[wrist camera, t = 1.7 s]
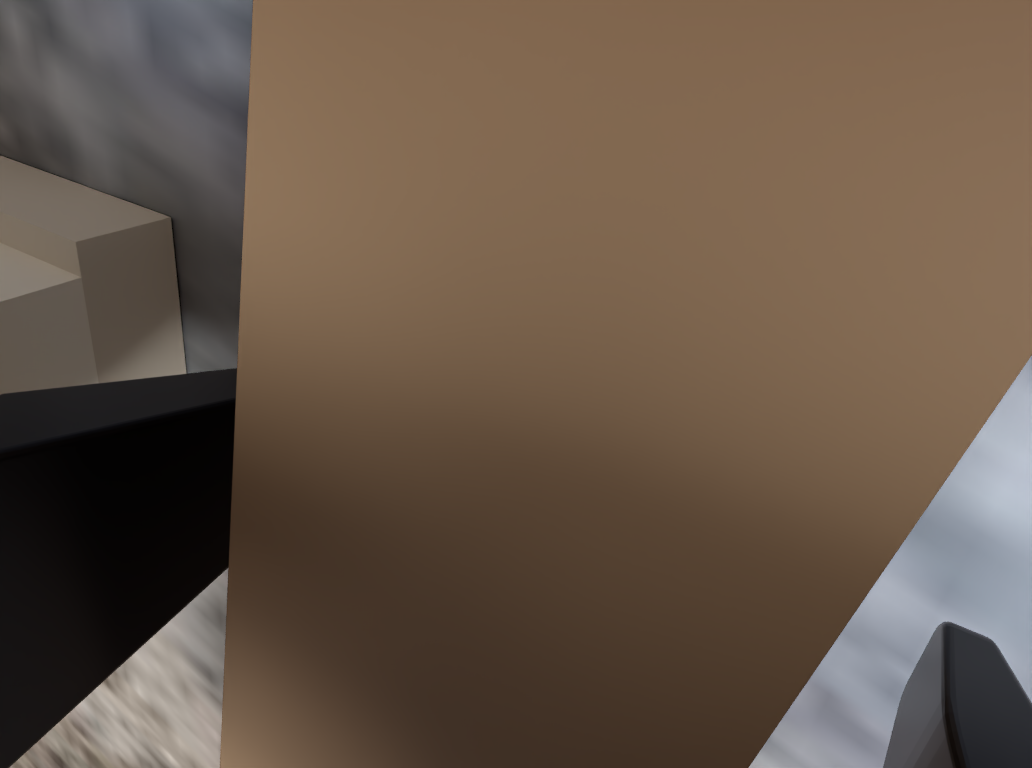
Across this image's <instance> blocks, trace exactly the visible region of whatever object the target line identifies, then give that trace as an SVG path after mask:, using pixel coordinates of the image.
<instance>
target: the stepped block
mask: <svg viewBox="0 0 1032 768" xmlns="http://www.w3.org/2000/svg"><path fill="white" fill-rule="evenodd" d="M179 374H187V373H186V363H185V353H184V343H183V333H182V323H181V313H180V303H179V293H178V283H177V274H176V264H175V254H174V244H173V234H172V224H171V217H169V216H166V215H163V214H161V213H158V212H155V211H152V210H150V209H147V208H144V207H141V206H138V205H136V204H133V203H130V202H127V201H125V200H122V199H119V198H116V197H114V196H111V195H108V194H105V193H103V192H100V191H97V190H94V189H92V188H89V187H86V186H83V185H81V184H78V183H75V182H72V181H69V180H67V179H64V178H61V177H58V176H56V175H53V174H50V173H47V172H45V171H42V170H39V169H36V168H34V167H31V166H28V165H25V164H23V163H20V162H17V161H14V160H11V159H9V158H6V157H3V156H0V395H1V394H4V393H13V392H23V391H32V390H41V389H50V388H59V387H69V386H78V385H87V384H96V383H106V382H115V381H124V380H133V379H142V378H152V377H161V376H170V375H179Z"/></svg>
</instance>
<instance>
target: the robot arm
mask: <svg viewBox="0 0 1032 768" xmlns="http://www.w3.org/2000/svg"><path fill="white" fill-rule="evenodd" d="M236 385H237V368H235V369H226V370H216V371H207V372H198V373H189V374H179V375H170V376H161V377H152V378H142V379H133V380H124V381H115V382H106V383H96V384H87V385H78V386H69V387H59V388H50V389H41V390H32V391H23V392H13V393H4V394H1V395H0V768H9V767H10V766H11V765H12V764H14V763H15V762H16V761H17V760H18V759H19V758H20V757H21V756H22V755H23V754H24V753H26V752H27V751H28V750H29V749H30V748H31V747H32V746H33V745H34V744H35V743H37V742H38V741H39V740H40V739H41V738H42V737H43V736H44V735H45V734H46V733H47V732H49V731H50V730H51V729H52V728H53V727H54V726H55V725H56V724H57V723H58V722H60V721H61V720H62V719H63V718H64V717H65V716H66V715H67V714H68V713H69V712H70V711H72V710H73V709H74V708H75V707H76V706H77V705H78V704H79V703H80V702H81V701H83V700H84V699H85V698H86V697H87V696H88V695H89V694H90V693H91V692H92V691H93V690H95V689H96V688H97V687H98V686H99V685H100V684H101V683H102V682H103V681H104V680H106V679H107V678H108V677H109V676H110V675H111V674H112V673H113V672H114V671H115V670H116V669H118V668H119V667H120V666H121V665H122V664H123V663H124V662H125V661H126V660H127V659H129V658H130V657H131V656H132V655H133V654H134V653H135V652H136V651H137V650H138V649H139V648H141V647H142V646H143V645H144V644H145V643H146V642H147V641H148V640H149V639H150V638H152V637H153V636H154V635H155V634H156V633H157V632H158V631H159V630H160V629H161V628H162V627H164V626H165V625H166V624H167V623H168V622H169V621H170V620H171V619H172V618H173V617H175V616H176V615H177V614H178V613H179V612H180V611H181V610H182V609H183V608H184V607H186V606H187V605H188V604H189V603H190V602H191V601H192V600H193V599H194V598H195V597H196V596H198V595H199V594H200V593H201V592H202V591H203V590H204V589H205V588H206V587H207V586H209V585H210V584H211V583H212V582H213V581H214V580H215V579H216V578H217V577H218V576H219V575H221V574H222V573H223V572H224V571H225V570H226V569H227V568H228V567H229V546H230V523H231V500H232V477H233V454H234V431H235V408H236ZM883 768H1032V703H1031V701H1030V699H1029V698H1028V696H1027V695H1026V693H1025V691H1024V690H1023V688H1022V686H1021V685H1020V683H1019V681H1018V680H1017V678H1016V676H1015V675H1014V673H1013V671H1012V670H1011V668H1010V666H1009V665H1008V663H1007V661H1006V660H1005V658H1004V656H1003V655H1002V653H1001V651H1000V650H999V648H998V647H997V645H996V644H995V643H994V642H993V641H992V640H991V639H989V638H988V637H985V636H983V635H981V634H978V633H976V632H973V631H971V630H969V629H966V628H964V627H961V626H959V625H956V624H954V623H952V622H943V623H942V624H940V625H939V626H938V627H937V628H936V630H935V632H934V633H933V635H932V637H931V639H930V641H929V643H928V645H927V646H926V648H925V650H924V652H923V654H922V656H921V658H920V660H919V661H918V663H917V665H916V667H915V669H914V671H913V673H912V675H911V676H910V678H909V680H908V682H907V684H906V687H905V689H904V692H903V694H902V697H901V700H900V703H899V707H898V711H897V715H896V719H895V723H894V727H893V731H892V735H891V739H890V743H889V747H888V750H887V754H886V758H885V762H884V766H883Z"/></svg>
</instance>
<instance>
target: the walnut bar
mask: <svg viewBox="0 0 1032 768" xmlns="http://www.w3.org/2000/svg"><path fill="white" fill-rule="evenodd" d="M1031 355H1032V0H253V15H252V38H251V61H250V84H249V107H248V130H247V153H246V177H245V200H244V223H243V246H242V269H241V292H240V315H239V338H238V361H237V385H236V408H235V431H234V454H233V477H232V500H231V523H230V546H229V570H228V593H227V616H226V639H225V662H224V685H223V708H222V731H221V754H220V768H748V767H749V766H750V765H751V763H752V762H753V760H754V759H755V757H756V756H757V754H758V753H759V751H760V750H761V749H762V747H763V746H764V744H765V743H766V741H767V740H768V738H769V737H770V735H771V734H772V732H773V731H774V730H775V728H776V727H777V725H778V724H779V722H780V721H781V719H782V718H783V716H784V715H785V714H786V712H787V711H788V709H789V708H790V706H791V705H792V703H793V702H794V700H795V699H796V698H797V696H798V695H799V693H800V692H801V690H802V689H803V687H804V686H805V684H806V683H807V682H808V680H809V679H810V677H811V676H812V674H813V673H814V671H815V670H816V668H817V667H818V666H819V664H820V663H821V661H822V660H823V658H824V657H825V655H826V654H827V652H828V651H829V649H830V648H831V647H832V645H833V644H834V642H835V641H836V639H837V638H838V636H839V635H840V633H841V632H842V631H843V629H844V628H845V626H846V625H847V623H848V622H849V620H850V619H851V617H852V616H853V615H854V613H855V612H856V610H857V609H858V607H859V606H860V604H861V603H862V601H863V600H864V599H865V597H866V596H867V594H868V593H869V591H870V590H871V588H872V587H873V585H874V584H875V583H876V581H877V580H878V578H879V577H880V575H881V574H882V572H883V571H884V569H885V568H886V567H887V565H888V564H889V562H890V561H891V559H892V558H893V556H894V555H895V553H896V552H897V550H898V549H899V548H900V546H901V545H902V543H903V542H904V540H905V539H906V537H907V536H908V534H909V533H910V532H911V530H912V529H913V527H914V526H915V524H916V523H917V521H918V520H919V518H920V517H921V516H922V514H923V513H924V511H925V510H926V508H927V507H928V505H929V504H930V502H931V501H932V500H933V498H934V497H935V495H936V494H937V492H938V491H939V489H940V488H941V486H942V485H943V484H944V482H945V481H946V479H947V478H948V476H949V475H950V473H951V472H952V470H953V469H954V467H955V466H956V465H957V463H958V462H959V460H960V459H961V457H962V456H963V454H964V453H965V451H966V450H967V449H968V447H969V446H970V444H971V443H972V441H973V440H974V438H975V437H976V435H977V434H978V433H979V431H980V430H981V428H982V427H983V425H984V424H985V422H986V421H987V419H988V418H989V417H990V415H991V414H992V412H993V411H994V409H995V408H996V406H997V405H998V403H999V402H1000V401H1001V399H1002V398H1003V396H1004V395H1005V393H1006V392H1007V390H1008V389H1009V387H1010V386H1011V385H1012V383H1013V382H1014V380H1015V379H1016V377H1017V376H1018V374H1019V373H1020V371H1021V370H1022V368H1023V367H1024V366H1025V364H1026V363H1027V361H1028V360H1029V358H1030V357H1031Z"/></svg>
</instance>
